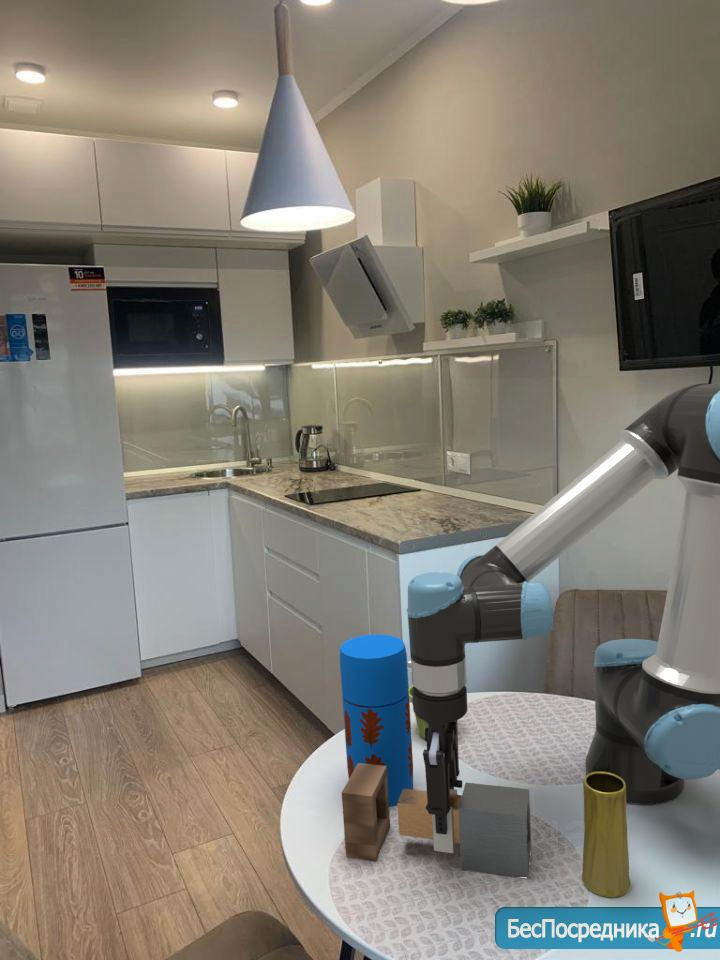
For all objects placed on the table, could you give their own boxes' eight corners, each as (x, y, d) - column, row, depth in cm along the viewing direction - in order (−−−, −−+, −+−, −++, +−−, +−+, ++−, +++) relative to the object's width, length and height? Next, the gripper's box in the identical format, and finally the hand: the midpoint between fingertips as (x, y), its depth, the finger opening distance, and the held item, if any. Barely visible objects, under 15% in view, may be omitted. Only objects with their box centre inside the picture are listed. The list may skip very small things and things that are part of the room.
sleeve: (531, 848, 103) (529, 789, 102) (527, 879, 97) (525, 816, 96) (468, 840, 106) (465, 782, 105) (461, 869, 100) (458, 808, 99)
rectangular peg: (527, 835, 102) (526, 802, 101) (525, 851, 98) (524, 818, 98) (405, 819, 107) (403, 788, 106) (399, 835, 104) (397, 802, 103)
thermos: (409, 810, 114) (400, 659, 111) (343, 806, 116) (332, 658, 113) (417, 773, 125) (409, 634, 121) (356, 769, 127) (347, 633, 123)
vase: (592, 860, 100) (590, 764, 98) (637, 877, 96) (636, 778, 94) (574, 885, 96) (572, 785, 93) (621, 905, 92) (619, 801, 90)
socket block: (390, 826, 110) (386, 766, 109) (376, 861, 103) (371, 796, 101) (362, 823, 112) (358, 762, 110) (346, 856, 104) (341, 792, 103)
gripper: (425, 660, 109) (432, 803, 112) (398, 711, 93) (407, 876, 97) (474, 663, 107) (481, 809, 110) (456, 715, 91) (463, 884, 95)
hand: (446, 840), depth 103 cm, fingers closed on rectangular peg, 4 cm apart
